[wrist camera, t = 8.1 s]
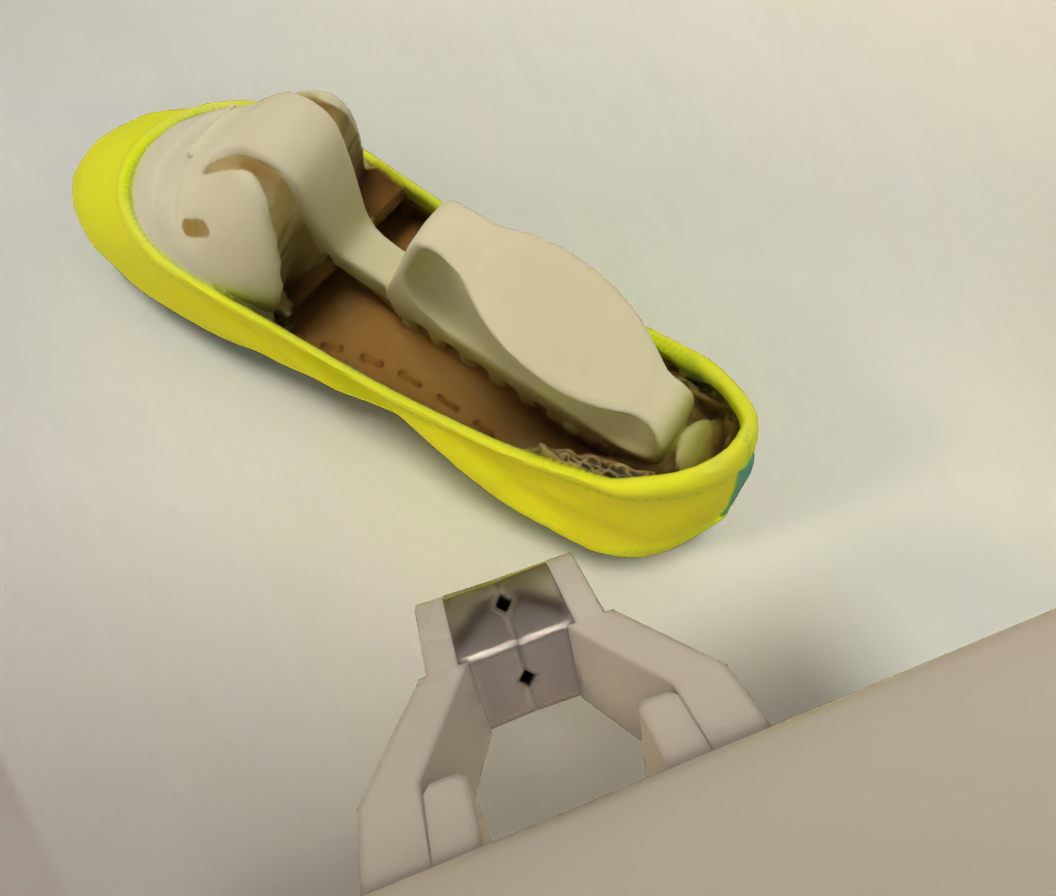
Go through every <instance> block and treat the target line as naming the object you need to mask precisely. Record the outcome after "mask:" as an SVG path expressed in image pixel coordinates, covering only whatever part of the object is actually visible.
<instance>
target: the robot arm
mask: <svg viewBox="0 0 1056 896" xmlns="http://www.w3.org/2000/svg"><path fill="white" fill-rule="evenodd" d="M415 616H416V621H417V627H418V632H419V638H420V643H421V649H422V654H423V660H424V665H425V670H426V676H427V677H425V678H422V679H420V680H418V682H417V684H416V686H415V688H414V691H413V693H412V695H411V697H410V699H409V701H408V703H407V705H406V707H405V709H404V712H403V714H402V716H401V718H400V720H399V722H398V724H397V726H396V728H395V730H394V733H393V735H392V737H391V739H390V741H389V743H388V745H387V747H386V749H385V752H384V754H383V756H382V758H381V760H380V762H379V764H378V766H377V768H376V770H375V773H374V775H373V777H372V779H371V781H370V783H369V785H368V787H367V789H366V791H365V794H364V796H363V798H362V800H361V802H360V804H359V806H358V808H357V812H358V834H359V856H360V878H361V896H1056V609H1053V610H1051V611H1048V612H1046V613H1044V614H1041V615H1039V616H1036V617H1034V618H1032V619H1029V620H1027V621H1024V622H1022V623H1020V624H1017V625H1015V626H1012V627H1010V628H1007V629H1005V630H1003V631H1000V632H998V633H995V634H993V635H991V636H988V637H986V638H983V639H981V640H979V641H976V642H974V643H971V644H969V645H966V646H964V647H962V648H959V649H957V650H954V651H952V652H950V653H947V654H945V655H942V656H940V657H938V658H935V659H933V660H930V661H928V662H925V663H923V664H921V665H918V666H916V667H913V668H911V669H909V670H906V671H904V672H901V673H899V674H897V675H894V676H892V677H889V678H887V679H884V680H882V681H880V682H877V683H875V684H872V685H870V686H868V687H865V688H863V689H860V690H858V691H855V692H853V693H851V694H848V695H846V696H843V697H841V698H839V699H836V700H834V701H831V702H829V703H827V704H824V705H822V706H819V707H817V708H814V709H812V710H810V711H807V712H805V713H802V714H800V715H798V716H795V717H793V718H790V719H788V720H786V721H783V722H781V723H778V724H776V725H774V726H771V725H770V723H769V722H768V721H767V719H766V718H765V717H764V715H763V714H762V712H761V711H760V710H759V708H758V707H757V705H756V704H755V703H754V701H753V700H752V699H751V697H750V696H749V694H748V693H747V692H746V690H745V689H744V687H743V686H742V685H741V683H740V682H739V681H738V679H737V678H736V676H735V675H734V674H733V672H732V671H731V669H730V668H729V667H728V665H726V664H724V663H722V662H720V661H718V660H716V659H714V658H712V657H710V656H708V655H706V654H704V653H701V652H699V651H697V650H695V649H693V648H691V647H689V646H687V645H685V644H683V643H681V642H679V641H677V640H675V639H672V638H670V637H668V636H666V635H664V634H662V633H660V632H658V631H656V630H654V629H652V628H650V627H648V626H646V625H644V624H641V623H639V622H637V621H635V620H633V619H631V618H629V617H627V616H625V615H623V614H621V613H619V612H617V611H615V610H609V611H606V612H605V611H604V610H603V608H602V606H601V604H600V602H599V601H598V599H597V597H596V595H595V594H594V592H593V590H592V588H591V586H590V585H589V583H588V581H587V579H586V578H585V576H584V574H583V572H582V571H581V569H580V567H579V565H578V563H577V562H576V560H575V558H574V556H573V555H572V554H570V553H566V554H564V555H561V556H558V557H555V558H553V559H550V560H547V561H545V562H542V563H539V564H536V565H534V566H531V567H528V568H525V569H522V570H519V571H517V572H514V573H511V574H508V575H505V576H502V577H500V578H497V579H494V580H492V581H488V582H485V583H482V584H479V585H476V586H473V587H470V588H466V589H463V590H460V591H457V592H454V593H451V594H447V595H444V596H443V597H440V598H437V599H434V600H431V601H427V602H424V603H421V604H418V605H415ZM579 695H581V696H582V698H584V699H585V700H586V701H588V702H589V703H590V704H592V705H593V706H595V707H596V708H597V709H599V710H600V711H601V712H603V713H604V714H605V715H607V716H608V717H609V718H611V719H612V720H614V721H615V722H616V723H618V724H619V725H620V726H622V727H623V728H624V729H626V730H627V731H628V732H630V733H631V734H633V735H634V736H635V737H637V738H638V739H639V740H641V741H642V742H643V749H644V758H645V766H646V775H647V778H646V779H644V780H641V781H639V782H636V783H634V784H632V785H629V786H627V787H624V788H622V789H620V790H617V791H615V792H612V793H610V794H608V795H605V796H603V797H600V798H598V799H596V800H593V801H591V802H588V803H586V804H583V805H581V806H579V807H576V808H574V809H571V810H569V811H567V812H564V813H562V814H559V815H557V816H554V817H552V818H550V819H547V820H545V821H542V822H540V823H538V824H535V825H533V826H530V827H528V828H526V829H523V830H521V831H518V832H516V833H513V834H511V835H509V836H506V837H504V838H501V839H499V840H497V841H494V842H493V839H492V837H491V834H490V832H489V830H488V827H487V825H486V822H485V820H484V817H483V815H482V812H481V810H480V808H479V805H478V803H477V800H476V798H475V795H476V791H477V787H478V783H479V780H480V776H481V772H482V768H483V764H484V761H485V757H486V753H487V749H488V745H489V742H490V738H491V734H492V731H491V729H493V728H495V727H498V726H500V725H503V724H505V723H507V722H510V721H512V720H515V719H517V718H519V717H522V716H524V715H527V714H529V713H531V712H534V711H536V710H539V709H542V708H545V707H548V706H551V705H553V704H556V703H559V702H562V701H565V700H568V699H570V698H573V697H576V696H579Z"/></svg>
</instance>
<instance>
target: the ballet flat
mask: <svg viewBox="0 0 1056 896" xmlns="http://www.w3.org/2000/svg"><path fill="white" fill-rule="evenodd" d="M72 195H73V204H74V208H75V211H76V213H77V216H78V218H79V221H80V223H81V225H82V227H83V229H84V231H85V233H86V235H87V236H88V238H89V240H90V242H91V243H92V244H93V246H94V247H95V248H96V249H97V250H98V251H99V252H100V253H101V254H102V255H103V256H104V257H105V258H106V259H107V260H109V261H110V262H111V263H112V264H113V265H114V266H115V267H116V268H117V269H118V270H119V271H120V272H121V273H122V274H123V275H124V276H125V277H126V278H127V279H128V280H129V281H130V282H131V283H133V284H134V285H135V286H136V287H138V288H139V289H140V290H141V291H143V292H144V293H145V294H147V295H148V296H150V297H151V298H153V299H155V300H156V301H158V302H159V303H161V304H163V305H164V306H166V307H167V308H169V309H171V310H172V311H174V312H176V313H177V314H179V315H181V316H182V317H184V318H186V319H187V320H189V321H191V322H193V323H195V324H196V325H198V326H200V327H202V328H204V329H206V330H207V331H209V332H211V333H213V334H215V335H217V336H220V337H222V338H224V339H226V340H228V341H231V342H233V343H235V344H238V345H241V346H244V347H247V348H249V349H252V350H255V351H257V352H259V353H261V354H263V355H265V356H267V357H269V358H271V359H273V360H275V361H277V362H279V363H281V364H283V365H285V366H287V367H289V368H291V369H294V370H296V371H298V372H301V373H303V374H306V375H308V376H310V377H312V378H315V379H317V380H318V381H320V382H322V383H324V384H326V385H327V386H329V387H331V388H333V389H335V390H337V391H340V392H342V393H344V394H347V395H350V396H353V397H356V398H359V399H361V400H364V401H367V402H369V403H372V404H374V405H377V406H379V407H382V408H384V409H387V410H389V411H392V412H393V413H395V414H397V415H399V416H400V417H401V418H402V419H403V420H404V421H406V422H407V423H408V424H409V425H410V426H411V427H412V428H413V429H414V430H416V431H417V432H418V433H419V434H420V435H421V436H422V437H423V438H424V439H426V440H427V441H428V442H429V443H430V444H431V445H432V446H433V447H434V448H436V449H437V450H438V451H439V452H440V453H441V454H443V455H444V456H445V457H446V458H447V459H448V460H449V461H450V462H452V463H453V464H454V465H455V466H456V467H457V468H458V469H459V470H461V471H462V472H463V473H465V474H466V475H467V476H468V477H470V478H471V479H472V480H473V481H475V482H476V483H477V484H479V485H480V486H481V487H483V488H484V489H485V490H486V491H488V492H489V493H490V494H492V495H493V496H495V497H496V498H497V499H499V500H500V501H502V502H503V503H505V504H506V505H508V506H510V507H511V508H513V509H515V510H516V511H518V512H519V513H521V514H523V515H525V516H526V517H528V518H530V519H532V520H534V521H536V522H538V523H540V524H542V525H543V526H545V527H547V528H549V529H551V530H553V531H554V532H556V533H558V534H560V535H562V536H563V537H565V538H567V539H569V540H571V541H573V542H575V543H577V544H580V545H582V546H584V547H586V548H587V549H588V550H591V551H594V552H598V553H603V554H608V555H613V556H619V557H643V556H650V555H655V554H659V553H662V552H664V551H667V550H670V549H672V548H675V547H677V546H679V545H681V544H683V543H685V542H687V541H688V540H690V539H692V538H694V537H695V536H697V535H698V534H700V533H702V532H703V531H705V530H706V529H708V528H709V527H711V526H712V525H714V524H715V523H717V522H719V521H720V520H722V519H723V518H724V517H725V516H726V515H727V513H728V511H729V509H730V506H731V505H732V504H733V502H734V501H735V499H736V497H737V495H738V493H739V491H740V490H741V488H742V486H743V485H744V483H745V481H746V480H747V478H748V477H749V475H750V473H751V470H752V467H753V463H754V450H755V445H756V442H757V437H758V417H757V414H756V411H755V409H754V407H753V405H752V403H751V402H750V400H749V399H748V398H747V396H746V395H745V393H744V392H743V391H742V389H741V388H740V387H739V386H738V385H737V384H736V383H735V382H734V381H733V380H732V379H731V378H730V377H729V376H728V375H727V374H726V373H725V372H724V371H723V370H722V369H721V368H720V367H719V366H717V365H716V364H715V363H714V362H712V361H711V360H710V359H708V358H707V357H705V356H703V355H701V354H699V353H698V352H696V351H693V350H691V349H689V348H687V347H685V346H683V345H682V344H680V343H678V342H676V341H674V340H672V339H670V338H668V337H666V336H664V335H662V334H660V333H658V332H656V331H654V330H652V329H650V328H648V327H646V326H645V325H644V324H643V322H642V320H641V318H640V317H639V315H638V314H637V313H636V312H635V310H634V309H633V308H632V306H631V305H630V304H629V303H628V301H627V300H626V299H625V298H624V297H623V296H622V294H621V293H620V292H619V291H618V290H617V289H616V288H615V287H614V286H613V285H612V284H611V283H610V282H609V281H608V280H607V279H606V278H604V277H603V276H602V275H601V274H600V273H599V272H597V271H596V270H595V269H594V268H593V267H591V266H590V265H589V264H587V263H586V262H584V261H583V260H581V259H580V258H578V257H577V256H575V255H574V254H572V253H570V252H568V251H567V250H565V249H563V248H561V247H559V246H557V245H555V244H554V243H551V242H549V241H546V240H544V239H542V238H539V237H537V236H534V235H531V234H527V233H524V232H520V231H516V230H512V229H508V228H505V227H501V226H498V225H495V224H493V223H491V222H490V221H488V220H487V219H485V218H484V217H482V216H481V215H479V214H477V213H476V212H474V211H472V210H470V209H469V208H467V207H465V206H463V205H461V204H460V203H458V202H452V201H447V202H444V203H443V202H442V201H440V200H439V199H437V198H436V197H434V196H433V195H431V194H430V193H428V192H427V191H425V190H424V189H422V188H421V187H419V186H418V185H416V184H415V183H413V182H412V181H410V180H409V179H407V178H406V177H404V176H403V175H401V174H400V173H398V172H397V171H395V170H394V169H392V168H391V167H389V166H388V165H386V164H385V163H384V162H382V161H381V160H379V159H378V158H376V157H375V156H373V155H372V154H370V153H369V152H368V151H366V150H365V149H363V147H362V144H361V140H360V136H359V132H358V128H357V125H356V122H355V120H354V118H353V116H352V114H351V112H350V110H349V109H348V107H347V106H346V105H345V103H344V102H343V101H342V100H340V99H339V98H338V97H336V96H335V95H333V94H330V93H327V92H320V91H306V92H297V93H291V92H285V93H279V94H275V95H272V96H270V97H267V98H265V99H263V100H261V101H246V100H235V101H222V102H214V103H207V104H204V105H201V106H198V107H195V108H192V109H180V110H166V111H160V112H153V113H148V114H145V115H143V116H140V117H138V118H137V119H135V120H132V121H130V122H128V123H126V124H123V125H121V126H119V127H117V128H116V129H114V130H113V131H111V132H109V133H108V134H106V135H105V136H103V137H102V138H100V139H99V140H98V141H97V142H96V143H95V144H94V145H93V146H92V147H91V148H90V150H89V151H88V152H87V153H86V154H85V156H84V158H83V159H82V161H81V162H80V164H79V166H78V168H77V170H76V171H75V174H74V178H73V188H72Z"/></svg>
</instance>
